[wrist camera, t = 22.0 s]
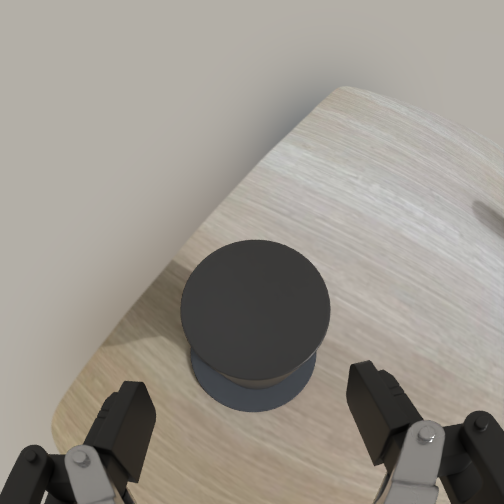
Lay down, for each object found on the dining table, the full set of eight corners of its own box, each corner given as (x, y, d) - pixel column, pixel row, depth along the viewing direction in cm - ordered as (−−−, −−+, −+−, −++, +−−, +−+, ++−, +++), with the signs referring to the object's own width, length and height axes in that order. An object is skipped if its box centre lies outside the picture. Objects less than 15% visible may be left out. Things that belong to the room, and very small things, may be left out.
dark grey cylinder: (230, 399, 17) (202, 399, 8) (208, 326, 20) (168, 261, 11) (307, 373, 18) (354, 346, 9) (280, 304, 20) (296, 224, 12)
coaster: (212, 426, 16) (211, 426, 16) (179, 313, 21) (178, 311, 20) (333, 385, 17) (334, 385, 17) (289, 279, 22) (289, 277, 21)
